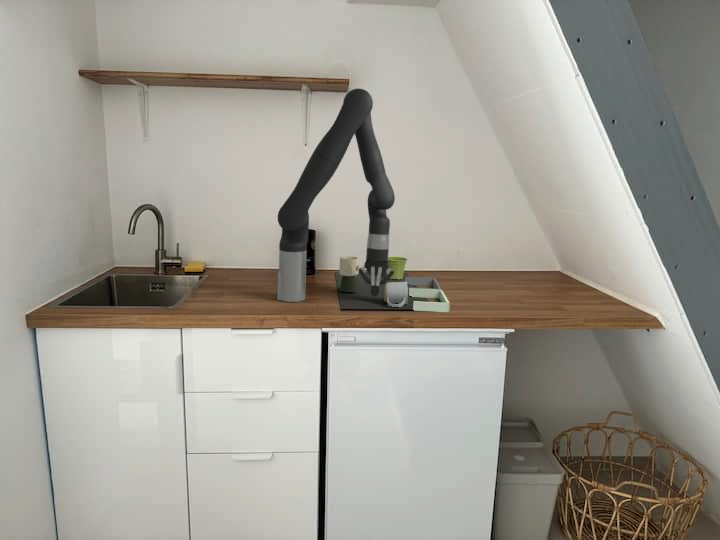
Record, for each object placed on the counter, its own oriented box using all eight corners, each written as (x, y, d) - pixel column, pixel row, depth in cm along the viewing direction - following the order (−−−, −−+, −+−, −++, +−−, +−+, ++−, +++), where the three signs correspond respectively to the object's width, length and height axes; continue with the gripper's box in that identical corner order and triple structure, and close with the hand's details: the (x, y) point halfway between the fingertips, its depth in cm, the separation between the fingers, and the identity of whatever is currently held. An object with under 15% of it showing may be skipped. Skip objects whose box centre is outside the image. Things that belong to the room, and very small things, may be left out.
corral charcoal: (408, 295, 194) (409, 288, 194) (404, 284, 214) (405, 277, 213) (441, 297, 194) (441, 289, 194) (434, 285, 213) (434, 278, 213)
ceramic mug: (383, 299, 187) (384, 278, 185) (406, 300, 187) (407, 279, 185) (383, 308, 177) (385, 285, 175) (408, 309, 177) (409, 287, 175)
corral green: (413, 310, 175) (413, 301, 174) (408, 296, 194) (409, 288, 193) (449, 312, 175) (449, 303, 174) (441, 297, 194) (441, 289, 193)
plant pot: (381, 279, 221) (382, 259, 219) (387, 275, 229) (388, 255, 228) (403, 281, 218) (404, 261, 216) (408, 277, 227) (409, 257, 225)
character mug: (360, 295, 192) (361, 260, 189) (340, 295, 190) (341, 260, 188) (355, 288, 202) (356, 255, 200) (336, 288, 201) (338, 255, 198)
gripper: (358, 247, 177) (355, 297, 180) (397, 249, 177) (393, 299, 180) (358, 243, 184) (355, 292, 188) (396, 246, 184) (392, 294, 187)
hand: (374, 295), depth 184 cm, fingers closed
